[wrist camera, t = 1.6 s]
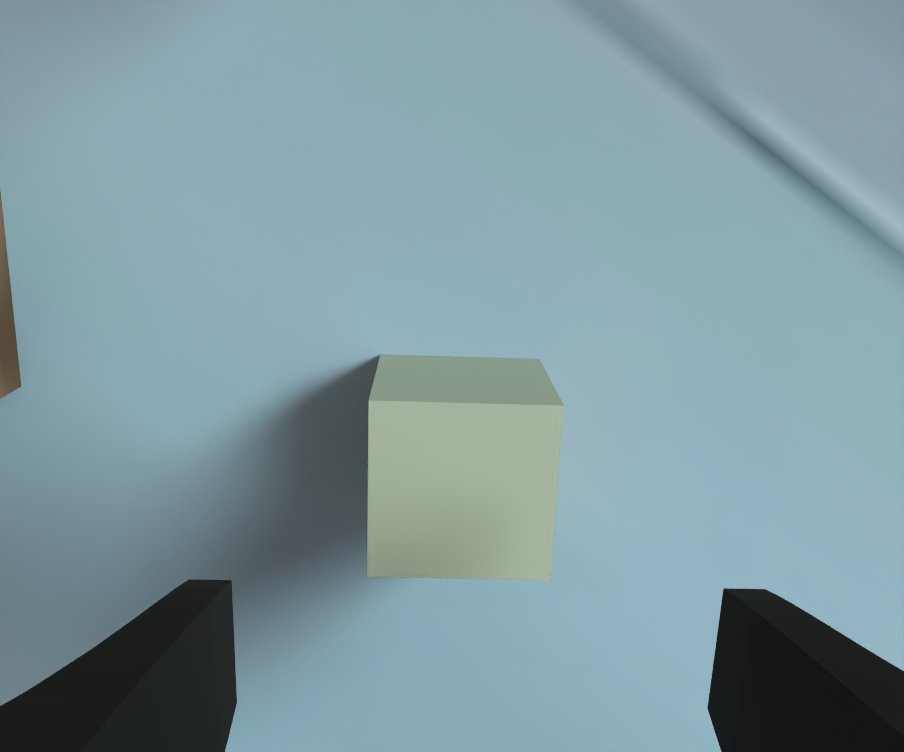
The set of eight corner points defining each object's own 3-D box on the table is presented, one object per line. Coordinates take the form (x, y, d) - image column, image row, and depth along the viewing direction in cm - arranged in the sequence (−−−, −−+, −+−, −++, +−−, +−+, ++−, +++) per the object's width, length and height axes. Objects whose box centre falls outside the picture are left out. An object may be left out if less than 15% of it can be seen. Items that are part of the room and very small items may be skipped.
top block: (529, 504, 22) (550, 580, 18) (378, 500, 21) (367, 576, 18) (538, 358, 21) (563, 405, 17) (380, 354, 20) (368, 400, 17)
